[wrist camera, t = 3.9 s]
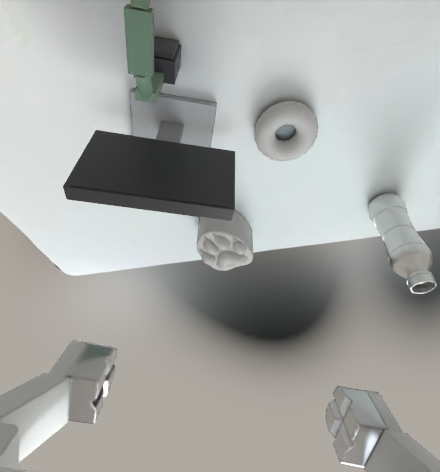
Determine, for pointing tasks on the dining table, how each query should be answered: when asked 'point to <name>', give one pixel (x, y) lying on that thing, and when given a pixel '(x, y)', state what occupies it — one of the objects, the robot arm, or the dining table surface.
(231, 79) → the dining table surface
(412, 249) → the plastic bottle
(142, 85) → the headphones
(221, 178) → the monitor
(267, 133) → the donut
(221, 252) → the lumpy-topped squat cylinder
